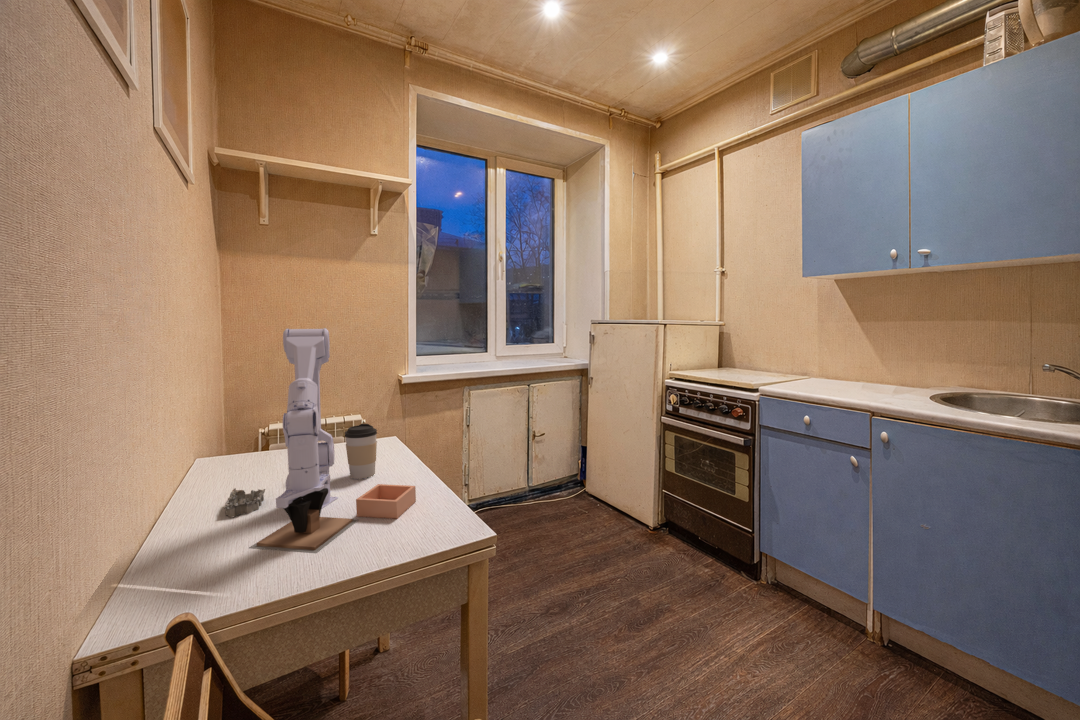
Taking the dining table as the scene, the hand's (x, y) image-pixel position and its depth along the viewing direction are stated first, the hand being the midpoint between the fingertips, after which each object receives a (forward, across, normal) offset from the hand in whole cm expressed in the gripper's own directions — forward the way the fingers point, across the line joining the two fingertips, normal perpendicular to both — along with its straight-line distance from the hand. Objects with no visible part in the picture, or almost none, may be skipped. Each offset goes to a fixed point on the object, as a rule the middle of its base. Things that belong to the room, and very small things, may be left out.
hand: (307, 527), depth 95 cm
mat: (+2, 0, 0) cm, 2 cm away
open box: (+2, +14, -11) cm, 18 cm away
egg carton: (+2, +11, +25) cm, 27 cm away
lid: (+1, 0, 0) cm, 1 cm away
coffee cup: (+2, +37, +9) cm, 38 cm away
